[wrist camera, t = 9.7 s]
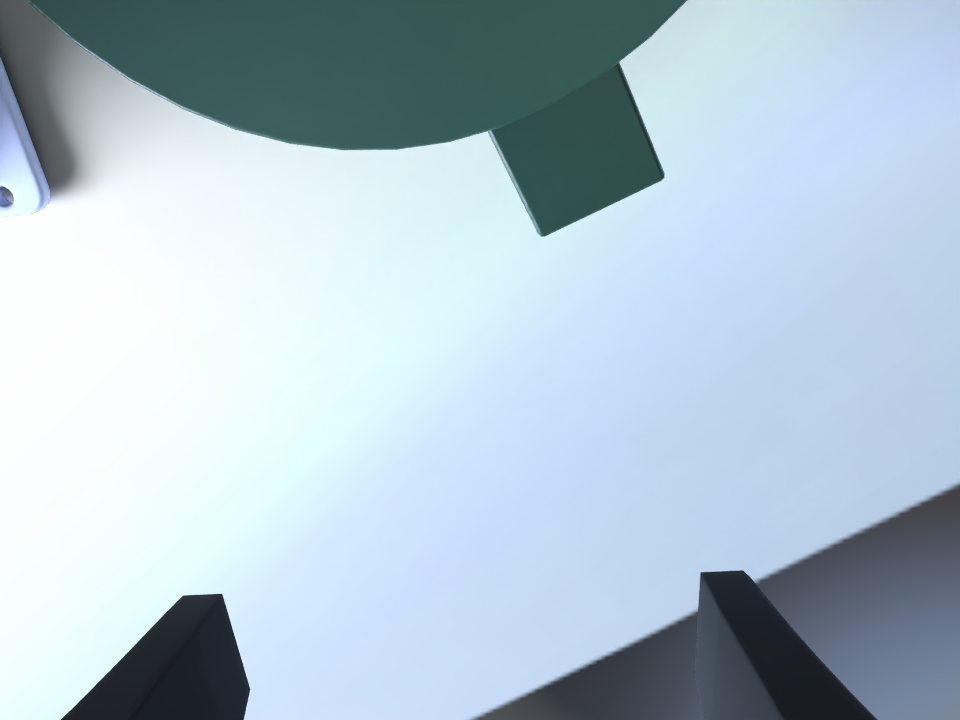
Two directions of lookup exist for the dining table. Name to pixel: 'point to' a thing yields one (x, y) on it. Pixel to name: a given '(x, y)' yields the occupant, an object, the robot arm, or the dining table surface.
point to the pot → (579, 153)
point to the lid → (360, 60)
